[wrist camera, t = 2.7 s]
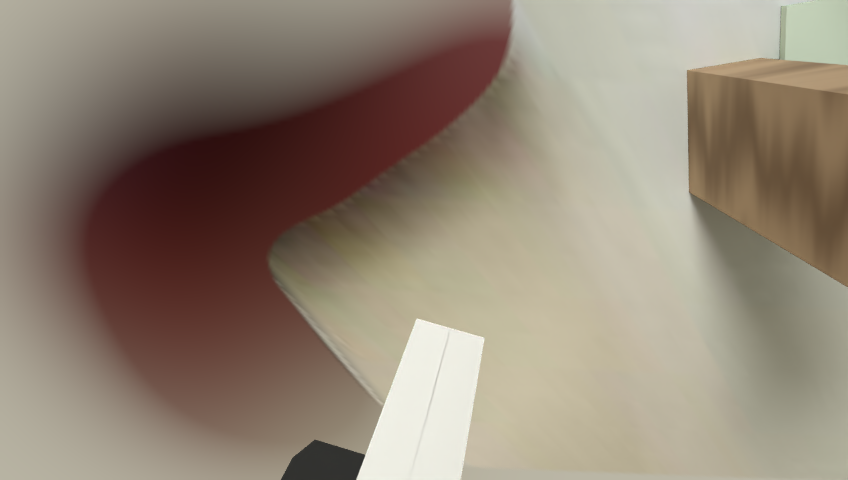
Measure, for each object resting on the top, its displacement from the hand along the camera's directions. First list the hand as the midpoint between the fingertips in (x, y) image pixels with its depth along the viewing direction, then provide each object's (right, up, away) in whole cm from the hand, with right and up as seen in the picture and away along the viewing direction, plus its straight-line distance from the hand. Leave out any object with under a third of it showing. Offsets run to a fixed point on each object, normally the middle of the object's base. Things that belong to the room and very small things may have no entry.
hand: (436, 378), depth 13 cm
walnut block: (+17, +9, +21) cm, 28 cm away
